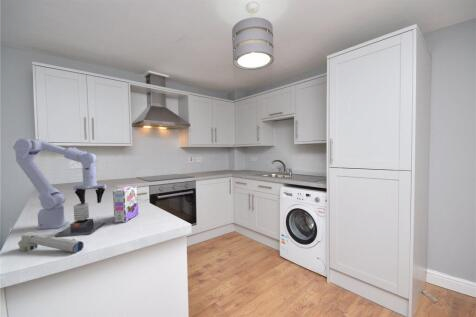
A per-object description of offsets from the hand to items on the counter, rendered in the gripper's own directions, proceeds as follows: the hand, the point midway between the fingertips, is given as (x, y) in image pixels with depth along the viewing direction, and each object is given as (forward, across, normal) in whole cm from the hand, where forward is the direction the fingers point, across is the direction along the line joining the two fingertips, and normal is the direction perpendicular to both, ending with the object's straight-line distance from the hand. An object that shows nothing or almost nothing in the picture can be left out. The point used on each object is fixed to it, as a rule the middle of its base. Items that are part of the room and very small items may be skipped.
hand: (91, 203), depth 110 cm
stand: (+10, +1, -11) cm, 15 cm away
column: (+5, +1, -11) cm, 12 cm away
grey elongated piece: (+10, +1, -31) cm, 33 cm away
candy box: (+10, +16, +2) cm, 19 cm away
